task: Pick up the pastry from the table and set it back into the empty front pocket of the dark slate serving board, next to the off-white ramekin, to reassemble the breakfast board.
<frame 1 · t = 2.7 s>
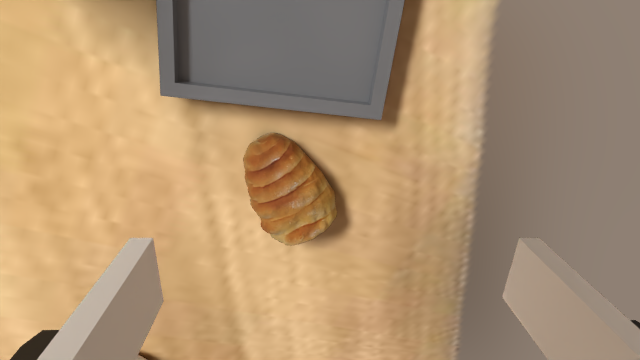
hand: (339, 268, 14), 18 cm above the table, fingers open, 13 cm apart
pastry: (288, 187, 33), on the table
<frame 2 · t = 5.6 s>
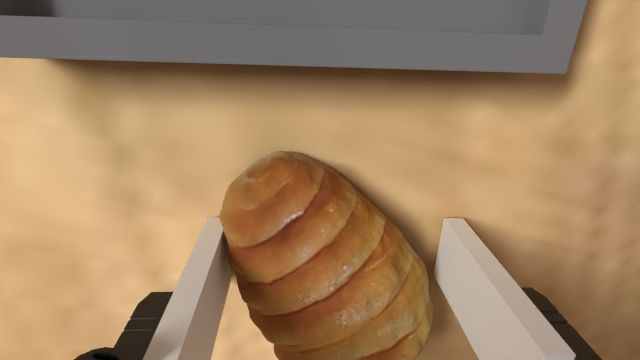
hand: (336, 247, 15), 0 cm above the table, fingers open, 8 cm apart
pastry: (323, 258, 16), on the table
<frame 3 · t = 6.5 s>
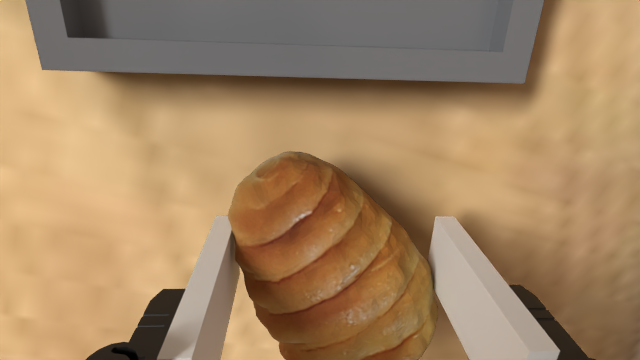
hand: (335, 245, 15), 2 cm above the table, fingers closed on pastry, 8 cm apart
pastry: (328, 257, 16), point 2 cm above the table, touching gripper
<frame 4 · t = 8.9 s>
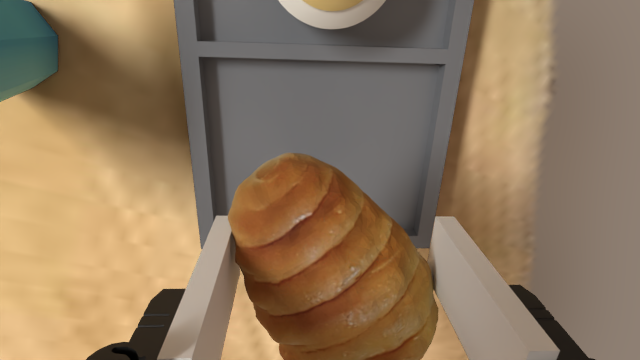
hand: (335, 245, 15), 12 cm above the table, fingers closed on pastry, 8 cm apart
serving board: (321, 83, 24), on the table
cup: (21, 57, 22), on the table
pastry: (328, 259, 16), point 11 cm above the table, touching gripper
when the fingers open (3 cm above the table, at t = 11.1 s): pastry stays where it is, resting on serving board.
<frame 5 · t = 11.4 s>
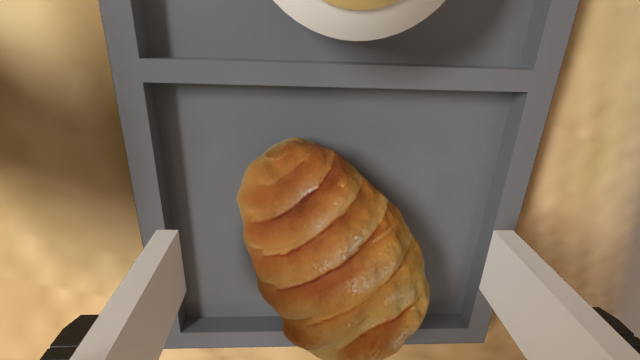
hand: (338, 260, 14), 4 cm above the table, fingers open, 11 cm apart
serving board: (334, 116, 16), on the table
pastry: (325, 245, 17), point 1 cm above the table, touching serving board
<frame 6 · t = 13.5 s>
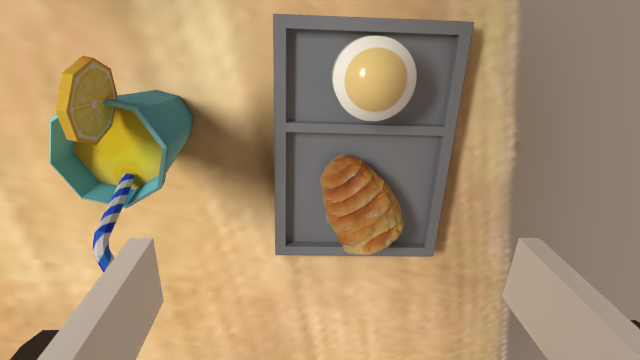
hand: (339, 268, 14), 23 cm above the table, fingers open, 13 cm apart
serving board: (360, 144, 35), on the table
cup: (167, 128, 34), on the table
pastry: (355, 204, 36), point 1 cm above the table, touching serving board
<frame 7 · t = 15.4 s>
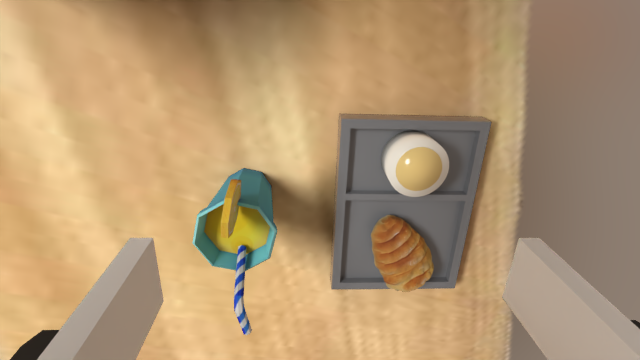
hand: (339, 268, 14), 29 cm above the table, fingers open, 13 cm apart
serving board: (399, 204, 45), on the table
cup: (250, 195, 44), on the table
pastry: (395, 250, 46), point 1 cm above the table, touching serving board
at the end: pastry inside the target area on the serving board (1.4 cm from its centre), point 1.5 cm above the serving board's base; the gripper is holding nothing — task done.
